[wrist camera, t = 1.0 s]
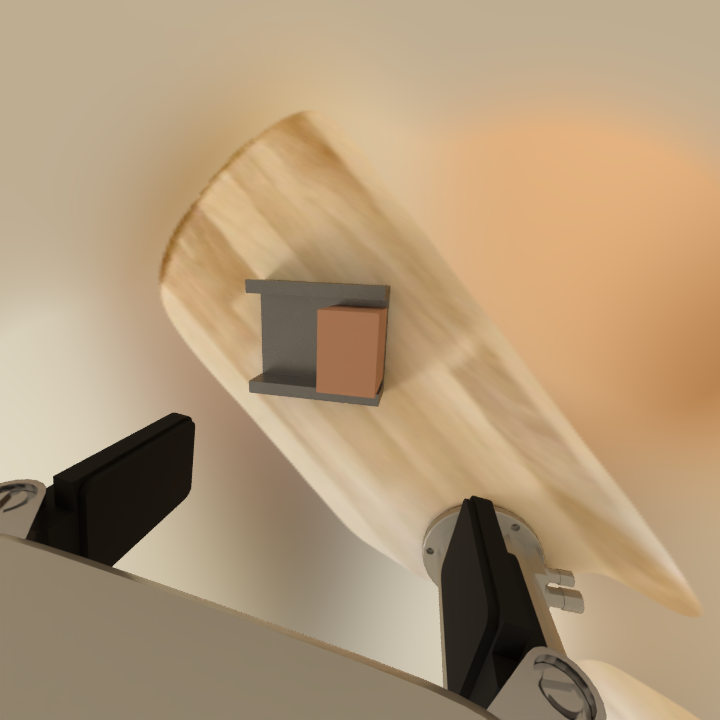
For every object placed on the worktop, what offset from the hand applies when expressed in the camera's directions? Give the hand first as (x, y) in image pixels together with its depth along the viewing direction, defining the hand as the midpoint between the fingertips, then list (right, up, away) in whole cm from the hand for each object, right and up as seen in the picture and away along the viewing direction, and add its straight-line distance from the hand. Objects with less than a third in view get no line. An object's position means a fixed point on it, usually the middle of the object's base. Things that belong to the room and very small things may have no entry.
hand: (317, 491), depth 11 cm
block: (+1, +6, +22) cm, 23 cm away
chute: (-2, +7, +24) cm, 25 cm away
